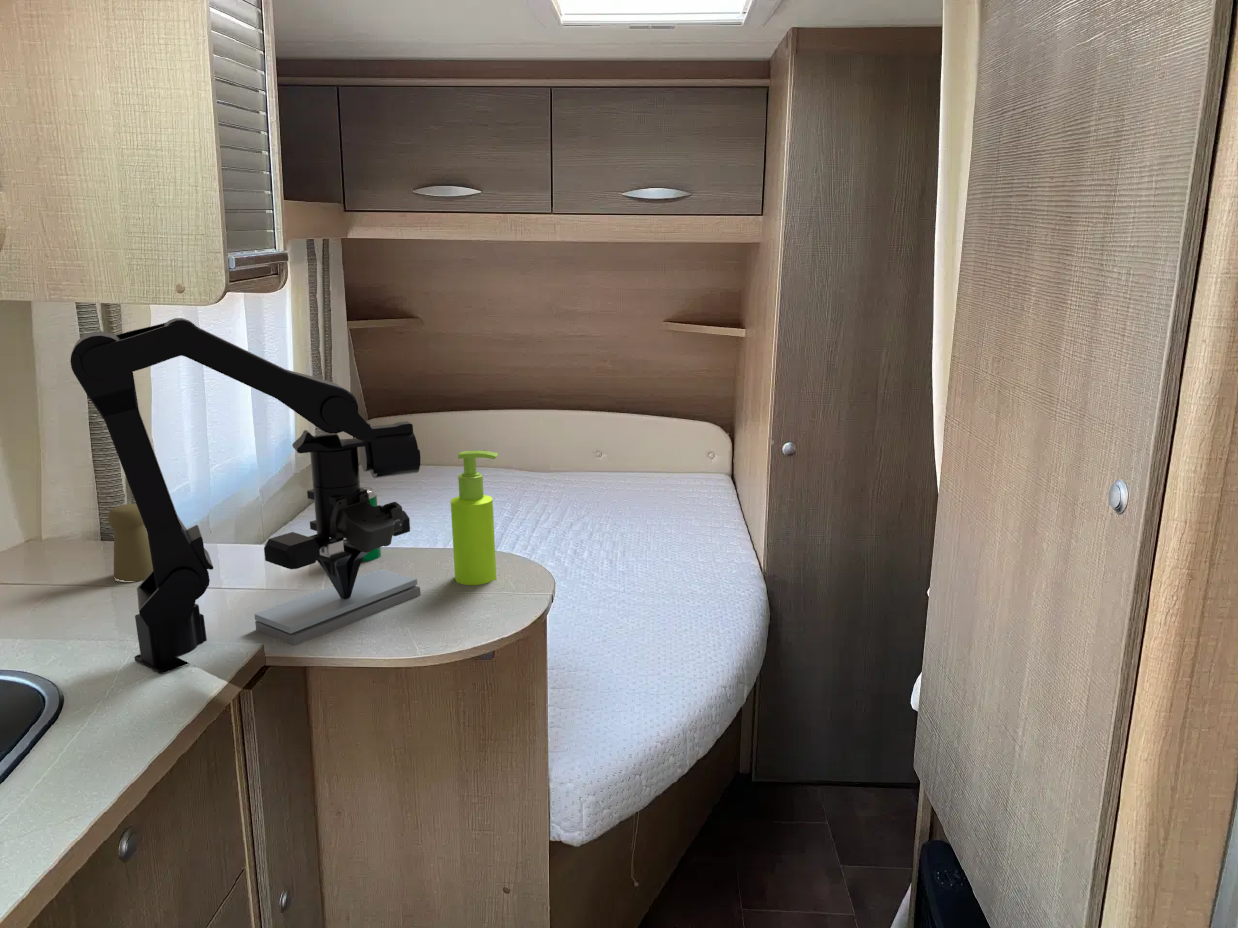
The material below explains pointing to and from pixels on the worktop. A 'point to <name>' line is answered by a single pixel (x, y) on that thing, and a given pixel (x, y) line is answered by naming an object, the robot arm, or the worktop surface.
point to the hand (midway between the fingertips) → (345, 597)
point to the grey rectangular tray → (339, 618)
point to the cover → (333, 601)
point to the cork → (130, 544)
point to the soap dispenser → (473, 525)
